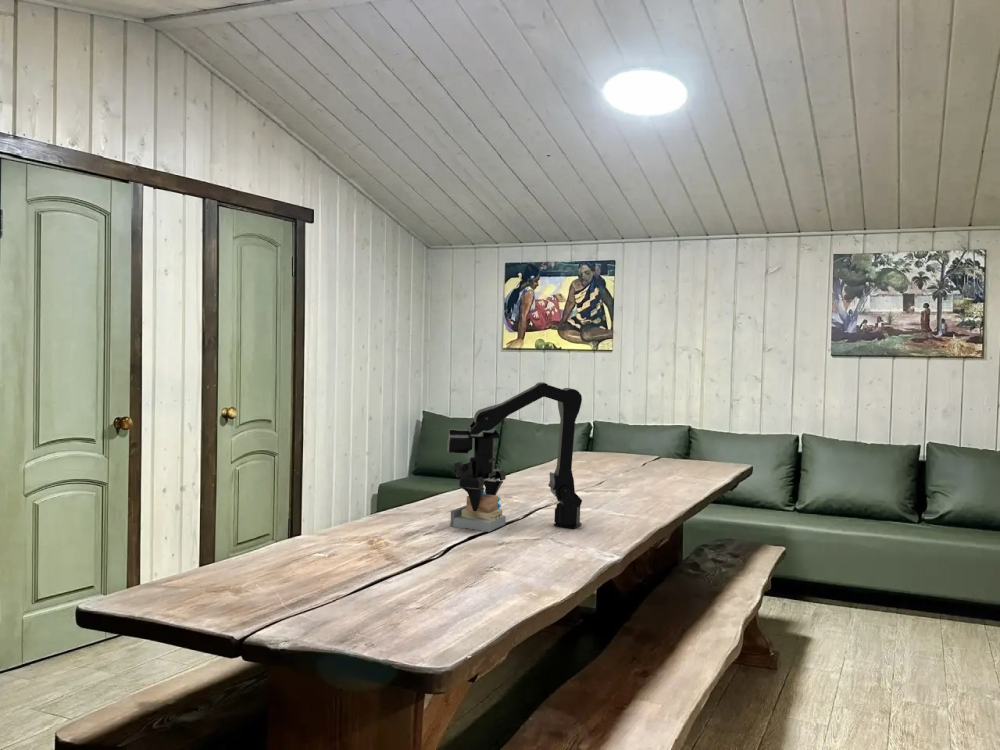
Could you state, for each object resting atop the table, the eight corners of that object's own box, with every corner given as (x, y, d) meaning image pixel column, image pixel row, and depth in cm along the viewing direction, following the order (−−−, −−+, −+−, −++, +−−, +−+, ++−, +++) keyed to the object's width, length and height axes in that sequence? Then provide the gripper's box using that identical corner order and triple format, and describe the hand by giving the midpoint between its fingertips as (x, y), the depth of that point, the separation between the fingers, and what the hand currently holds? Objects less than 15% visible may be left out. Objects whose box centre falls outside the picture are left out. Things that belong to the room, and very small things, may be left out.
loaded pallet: (502, 517, 227) (502, 496, 227) (493, 521, 222) (493, 499, 221) (470, 513, 231) (471, 492, 231) (461, 516, 226) (462, 495, 226)
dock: (505, 524, 230) (505, 509, 229) (488, 531, 220) (489, 516, 219) (468, 519, 235) (468, 504, 234) (450, 526, 225) (450, 510, 224)
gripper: (473, 447, 238) (471, 499, 238) (442, 455, 221) (441, 510, 221) (507, 451, 233) (505, 504, 234) (478, 458, 216) (477, 515, 217)
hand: (482, 508), depth 226 cm, fingers open, 9 cm apart
